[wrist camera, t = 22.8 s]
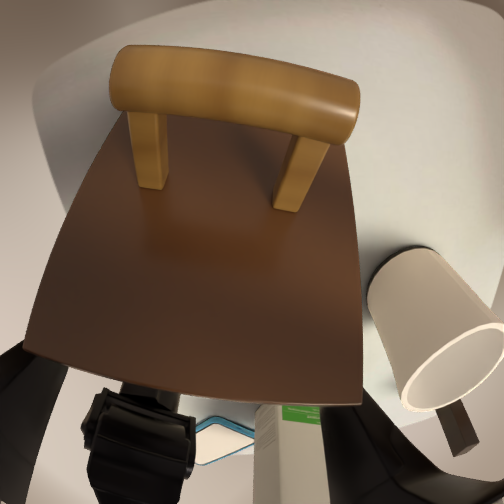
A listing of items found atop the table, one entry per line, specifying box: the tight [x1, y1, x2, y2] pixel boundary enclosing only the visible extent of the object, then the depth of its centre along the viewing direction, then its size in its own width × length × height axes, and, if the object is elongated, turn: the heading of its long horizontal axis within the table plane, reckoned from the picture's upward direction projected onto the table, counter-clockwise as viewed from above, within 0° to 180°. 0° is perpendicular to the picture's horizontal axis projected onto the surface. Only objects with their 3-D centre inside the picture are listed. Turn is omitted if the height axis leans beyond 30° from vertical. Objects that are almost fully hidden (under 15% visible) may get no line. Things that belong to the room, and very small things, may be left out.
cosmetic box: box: [253, 404, 330, 504], centre depth 26 cm, size 8×7×16 cm
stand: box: [435, 399, 479, 457], centre depth 27 cm, size 4×4×12 cm
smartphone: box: [195, 417, 255, 465], centre depth 38 cm, size 8×1×15 cm
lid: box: [23, 45, 363, 407], centre depth 7 cm, size 12×8×5 cm
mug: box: [366, 247, 504, 412], centre depth 20 cm, size 11×9×10 cm
